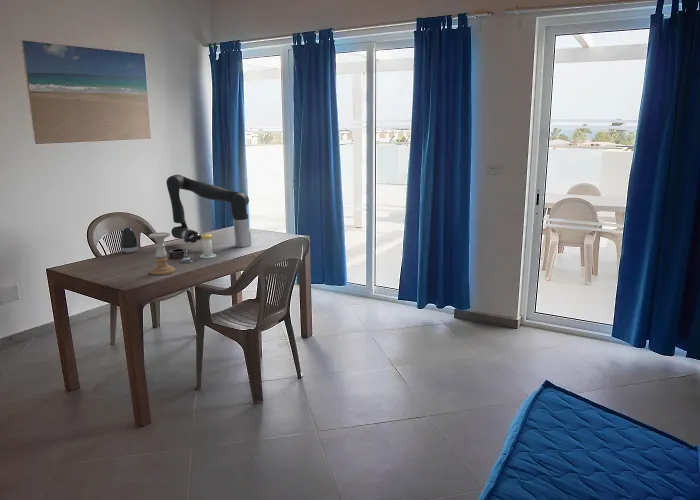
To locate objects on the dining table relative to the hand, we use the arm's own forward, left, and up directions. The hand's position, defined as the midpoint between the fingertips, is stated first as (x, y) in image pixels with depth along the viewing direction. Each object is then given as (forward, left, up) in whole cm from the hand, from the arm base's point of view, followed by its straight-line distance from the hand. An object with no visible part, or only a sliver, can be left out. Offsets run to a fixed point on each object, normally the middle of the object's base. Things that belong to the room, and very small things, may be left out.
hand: (201, 240), depth 314 cm
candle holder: (+32, +25, -8) cm, 42 cm away
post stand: (+14, +12, -8) cm, 20 cm away
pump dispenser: (+32, -33, -8) cm, 47 cm away
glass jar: (0, +9, -8) cm, 12 cm away
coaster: (0, +9, -8) cm, 12 cm away
